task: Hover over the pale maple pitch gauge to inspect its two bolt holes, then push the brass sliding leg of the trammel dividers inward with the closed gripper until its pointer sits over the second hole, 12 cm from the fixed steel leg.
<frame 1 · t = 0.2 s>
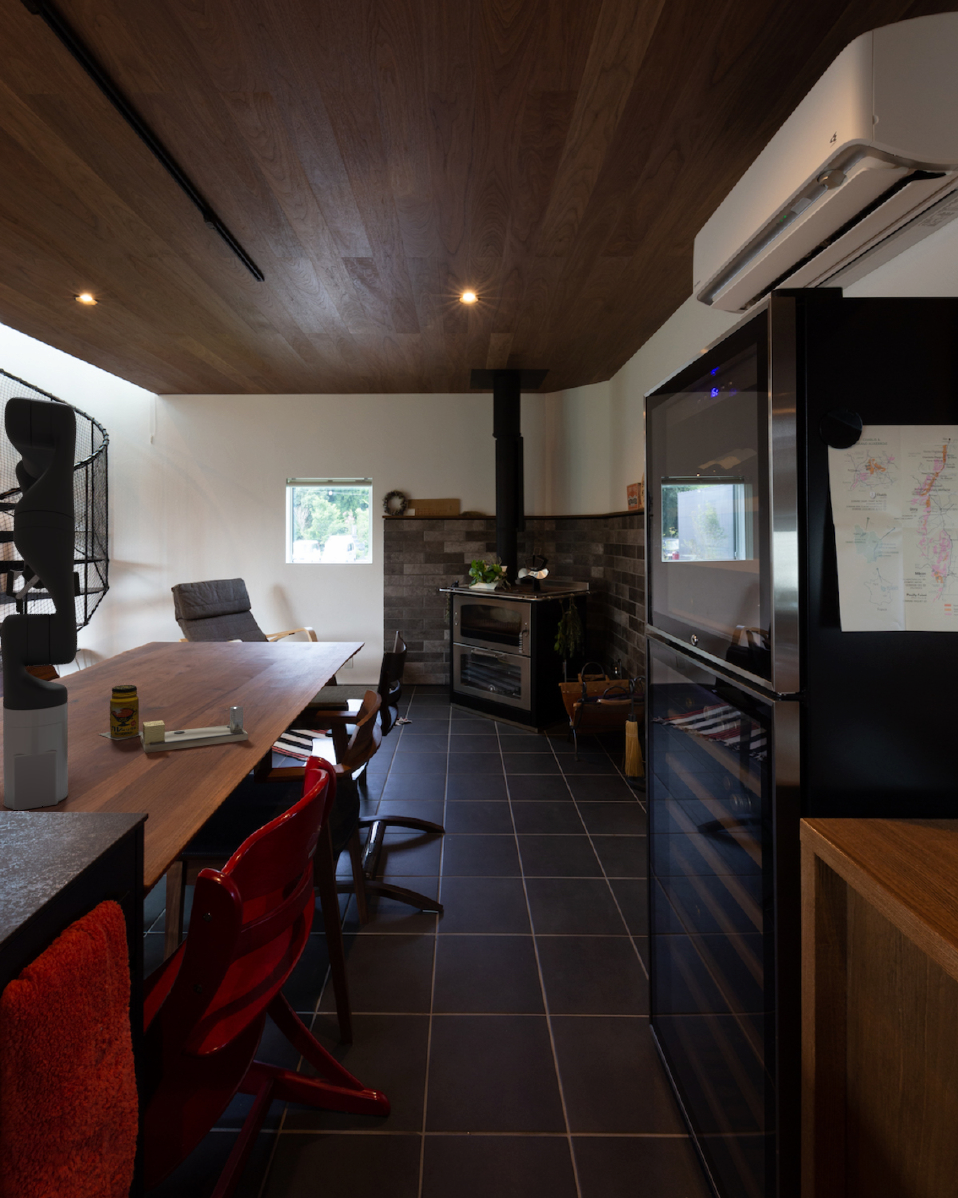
hand: (44, 614, 143), 29 cm above the table, fingers open, 8 cm apart
fixed leg: (236, 731, 149), resting on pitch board
condiment: (123, 735, 148), on the table
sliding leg: (153, 730, 140), point 4 cm above the table, slide at 6.0 cm
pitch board: (194, 740, 145), on the table
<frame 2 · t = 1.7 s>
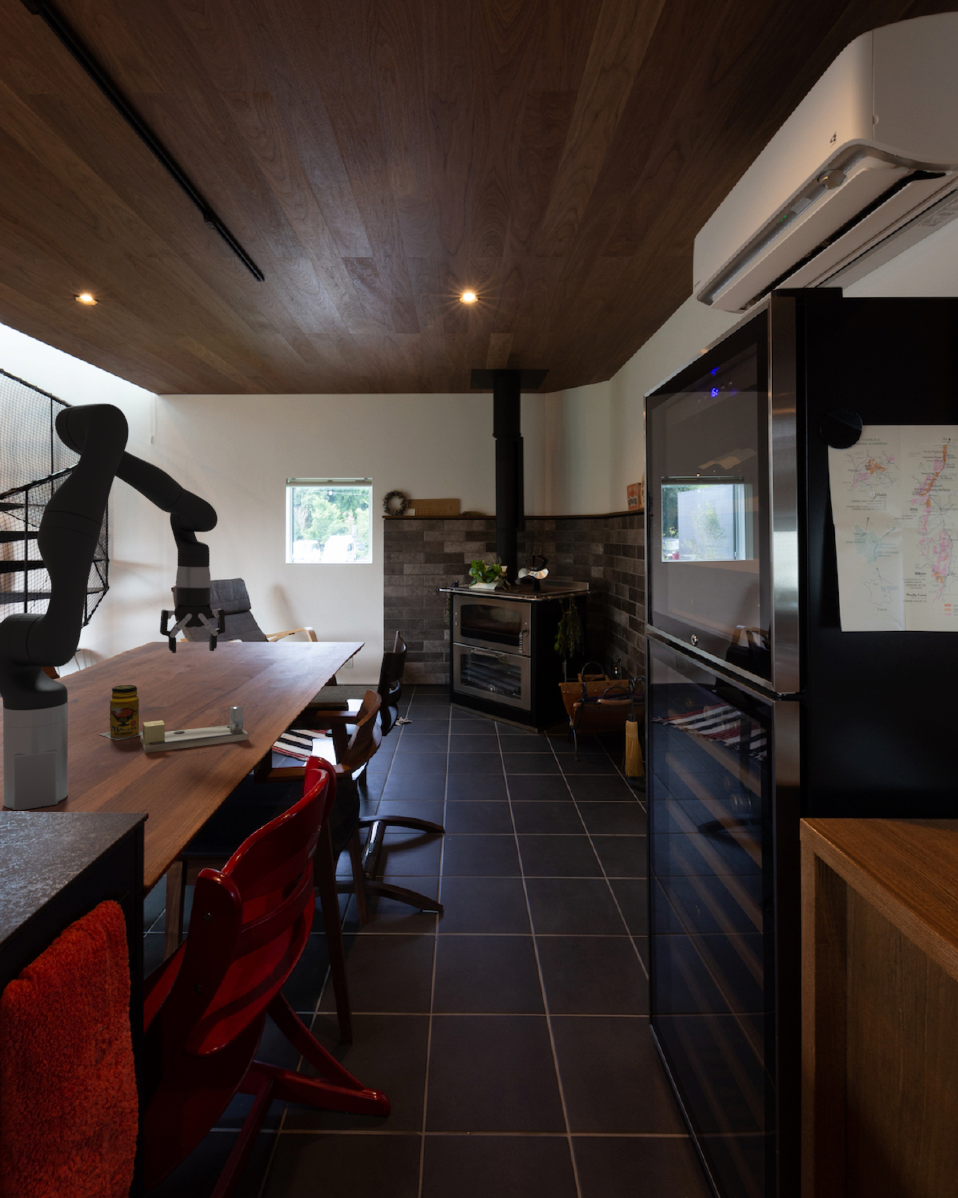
hand: (193, 651, 148), 21 cm above the table, fingers open, 8 cm apart
nothing on the table moved.
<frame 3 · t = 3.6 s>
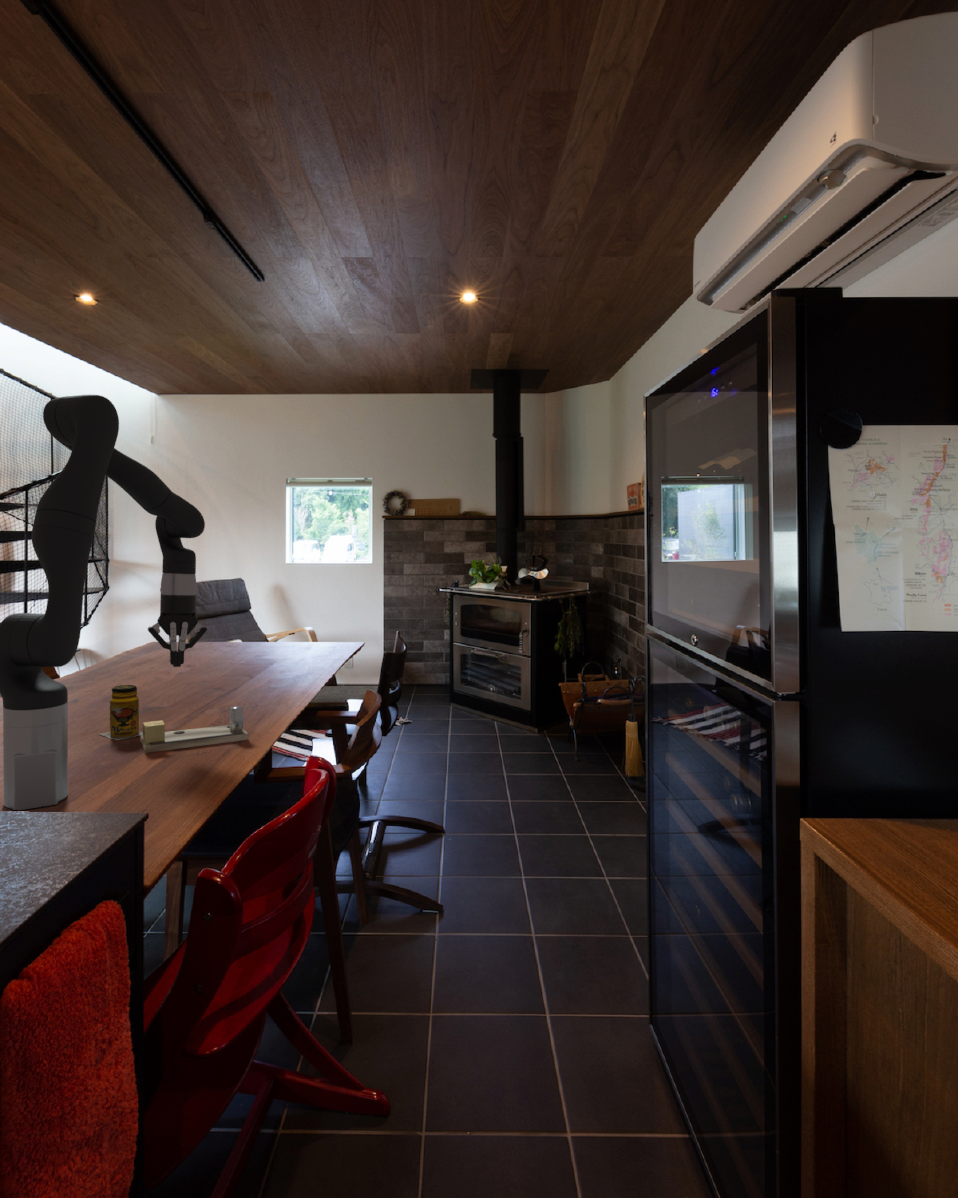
hand: (176, 666, 143), 18 cm above the table, fingers closed
nothing on the table moved.
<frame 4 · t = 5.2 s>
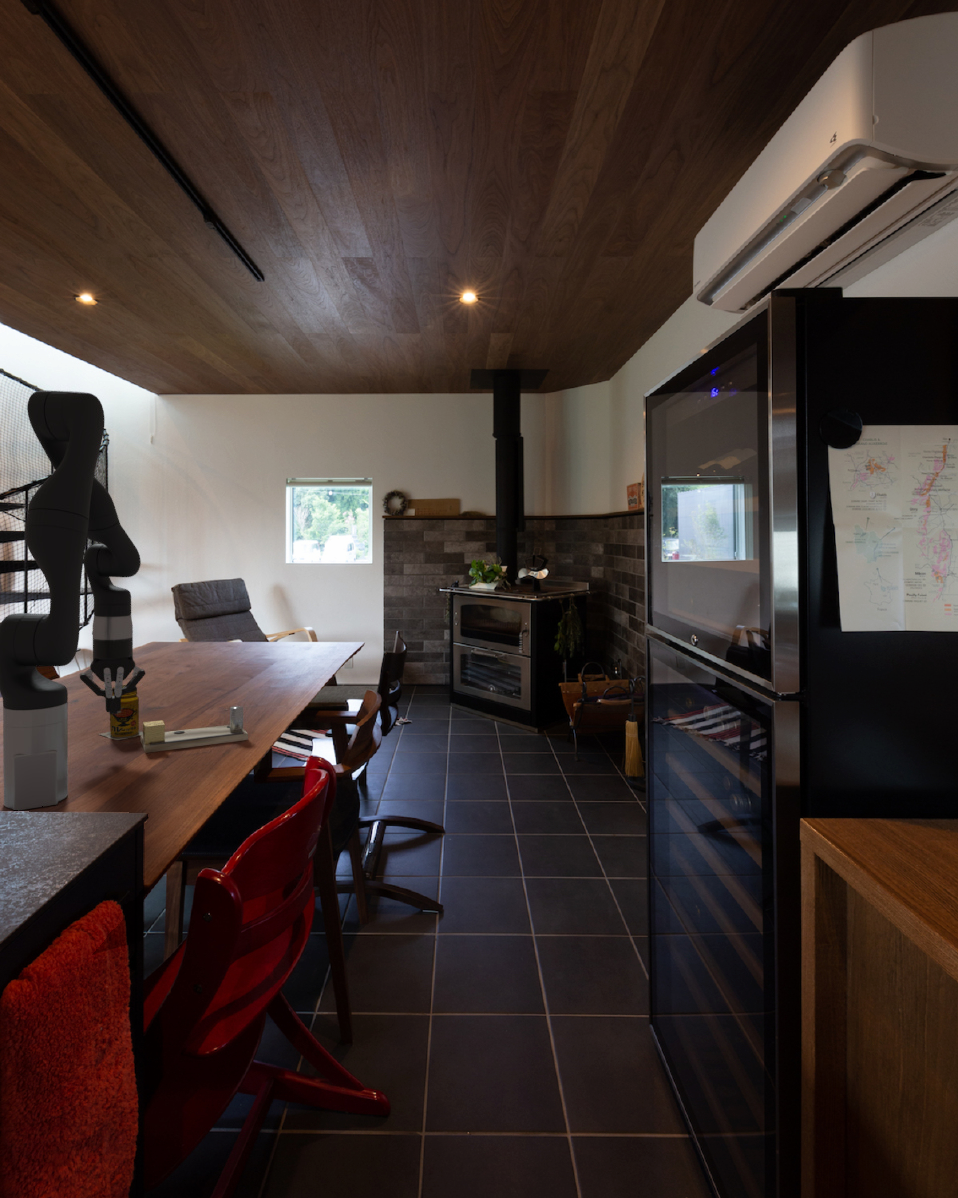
hand: (113, 713, 134), 9 cm above the table, fingers closed
nothing on the table moved.
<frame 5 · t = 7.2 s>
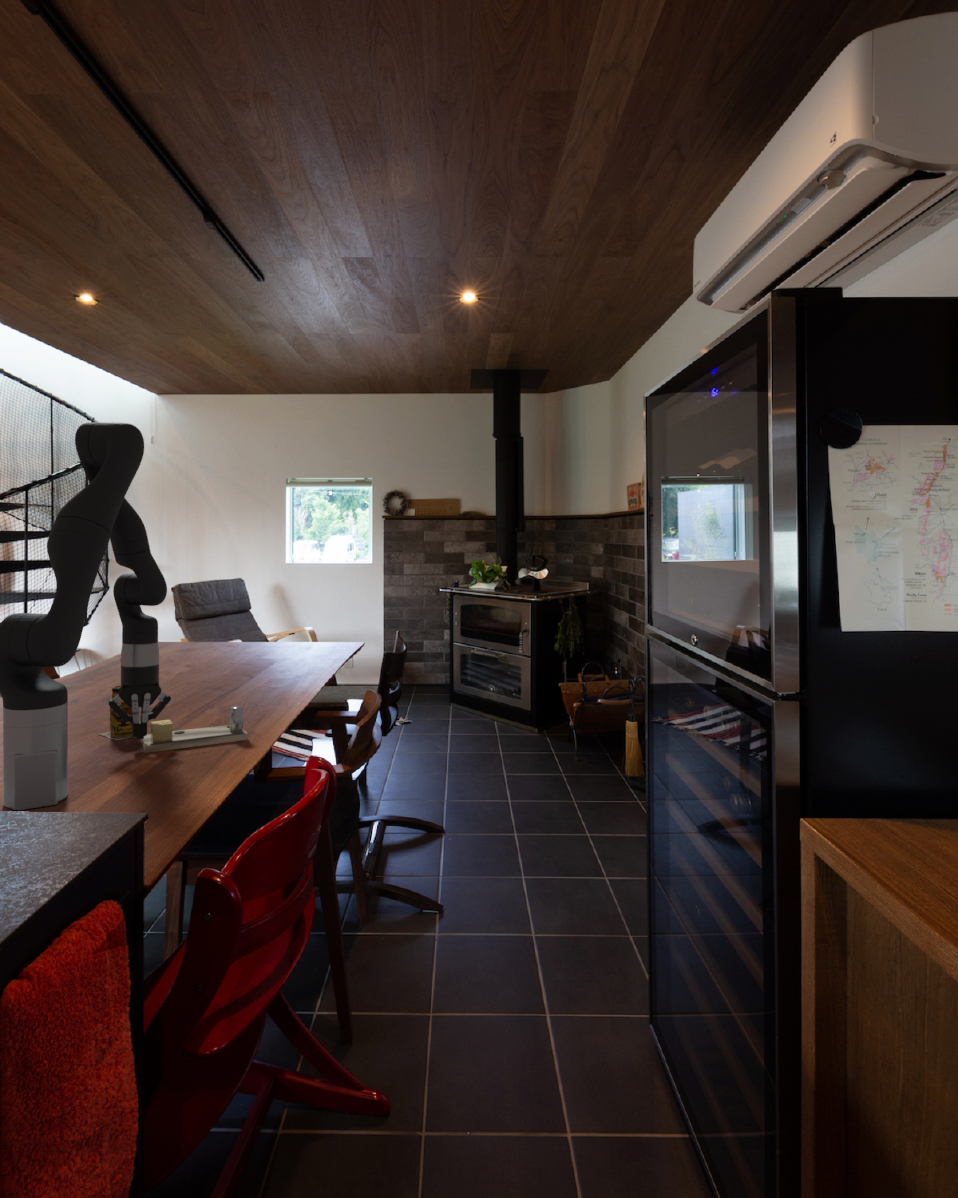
hand: (139, 738, 137), 3 cm above the table, fingers closed
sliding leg: (160, 729, 141), point 4 cm above the table, slide at 4.4 cm, touching gripper
everything else where it was.
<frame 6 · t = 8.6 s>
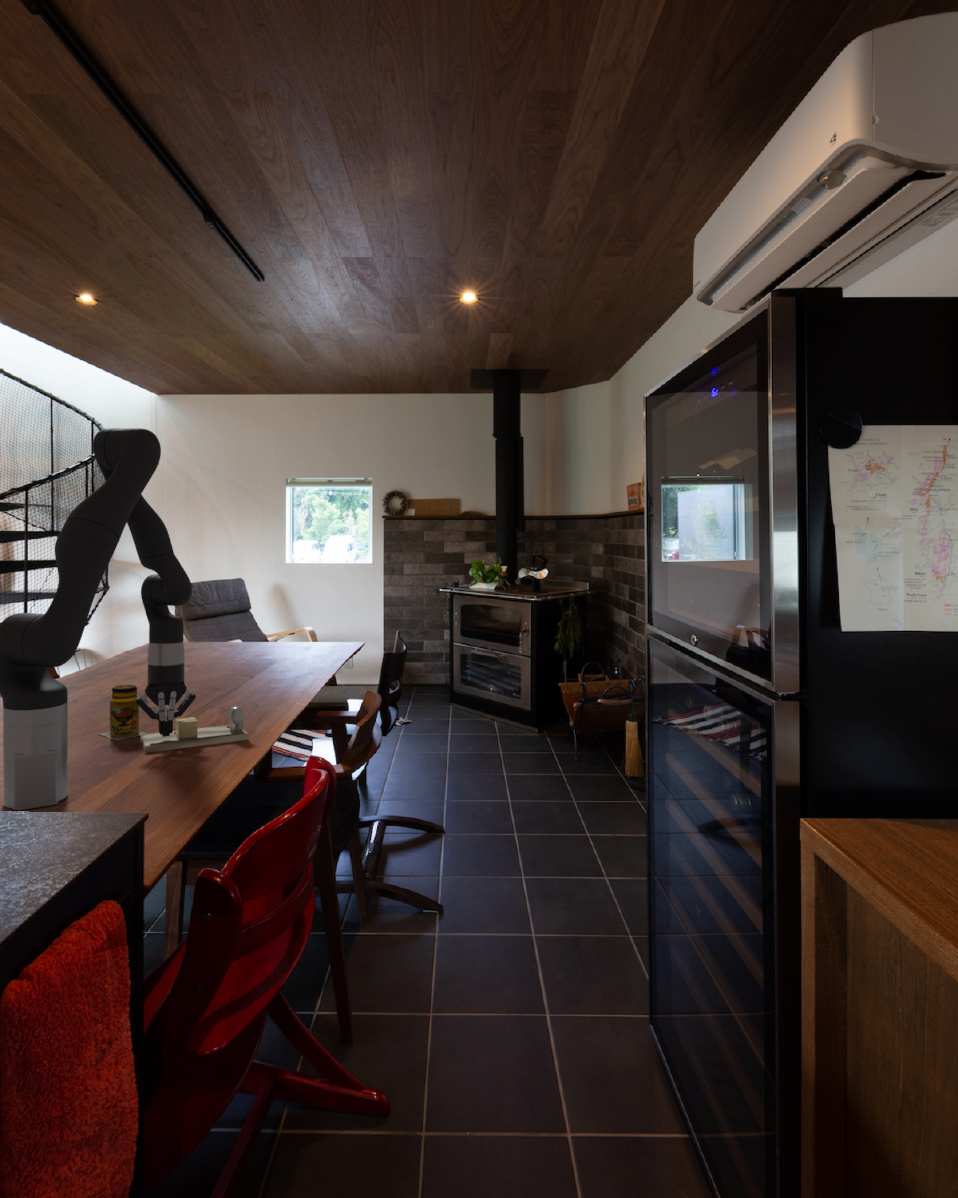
hand: (165, 735, 140), 3 cm above the table, fingers closed
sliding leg: (185, 726, 144), point 4 cm above the table, slide at -0.8 cm, touching gripper
everything else where it was.
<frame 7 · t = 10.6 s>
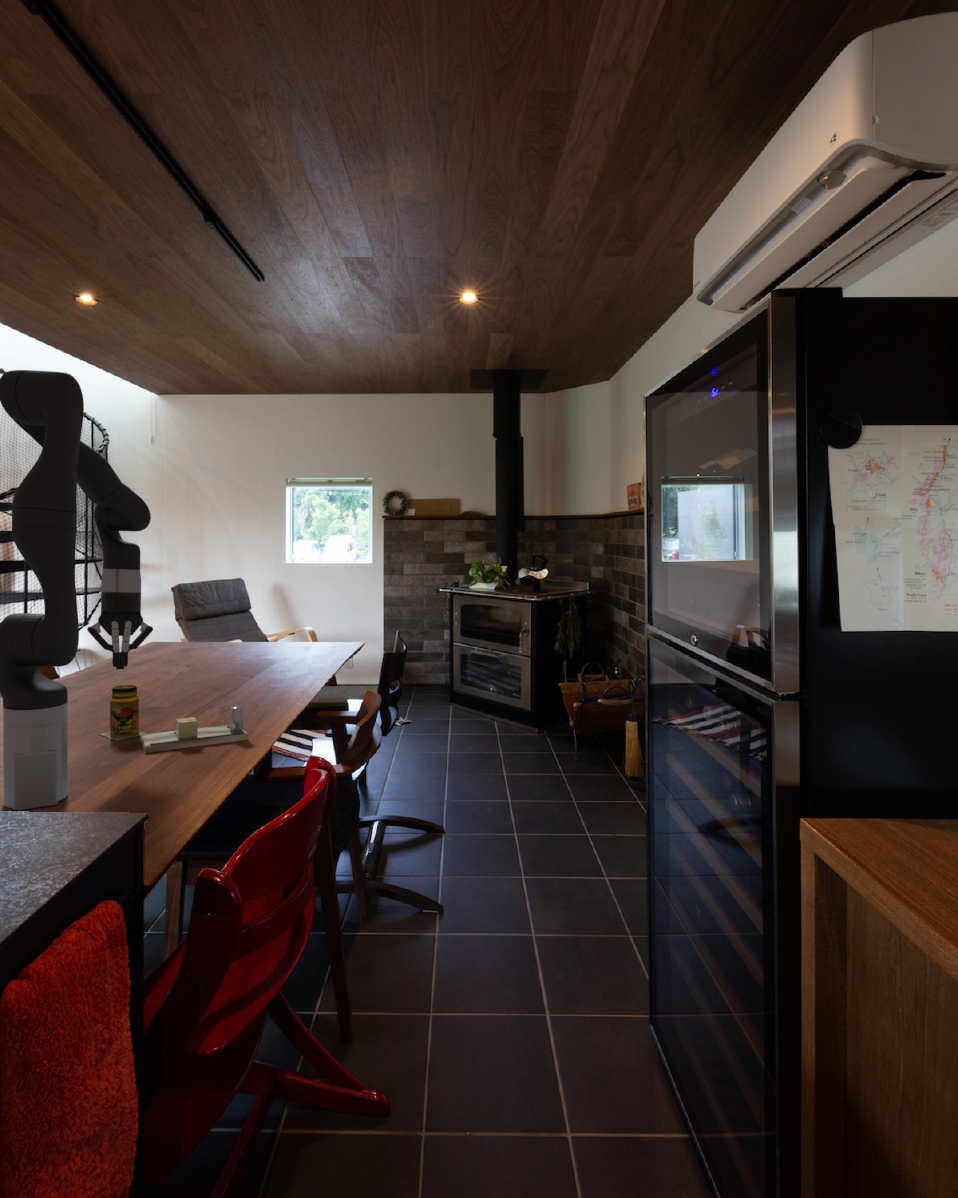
hand: (120, 668, 133), 19 cm above the table, fingers closed
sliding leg: (185, 726, 144), point 4 cm above the table, slide at -0.8 cm
everything else where it was.
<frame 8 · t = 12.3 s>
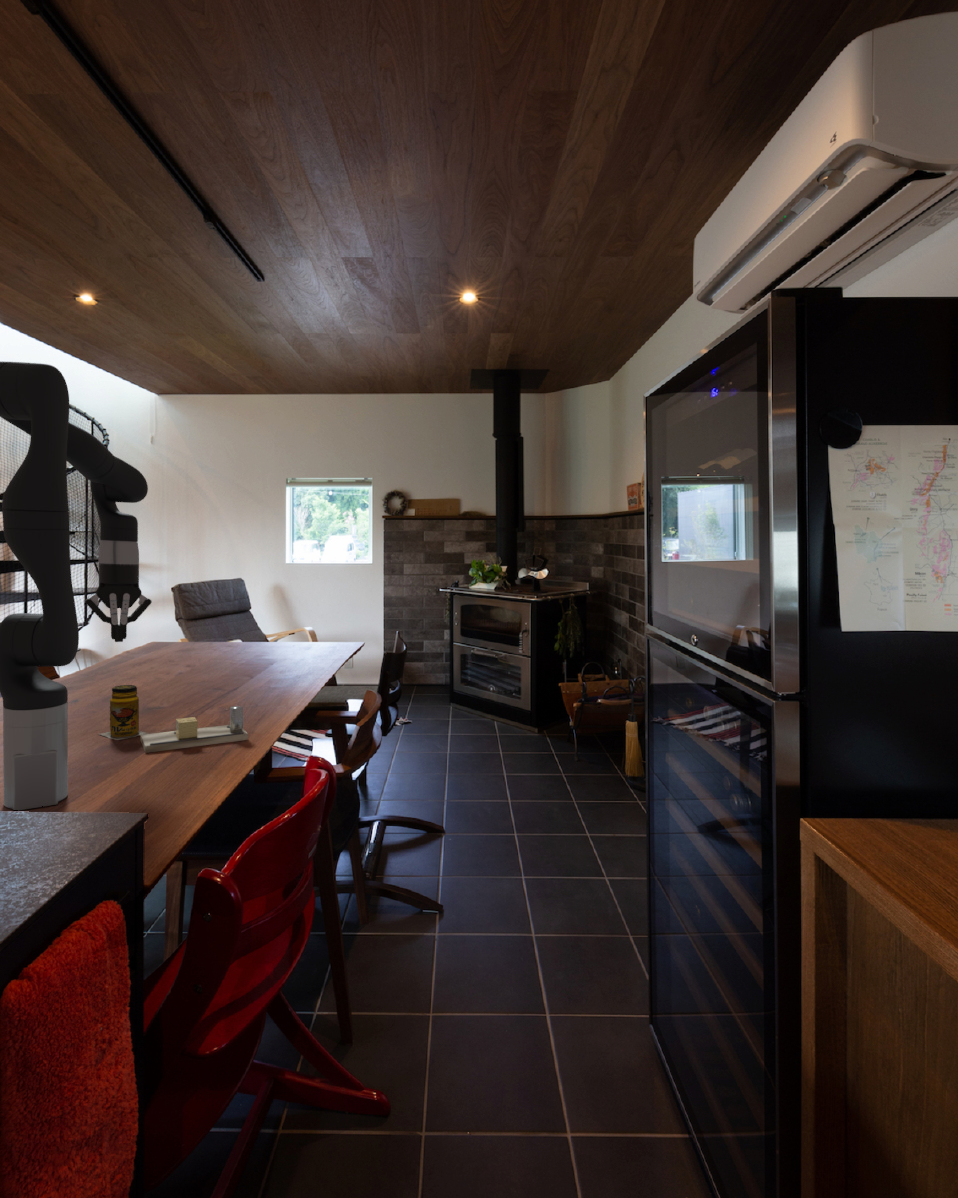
hand: (118, 641, 132), 25 cm above the table, fingers closed
nothing on the table moved.
at the end: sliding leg slide at -0.8 cm; condiment moved 0.3 cm from its start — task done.
